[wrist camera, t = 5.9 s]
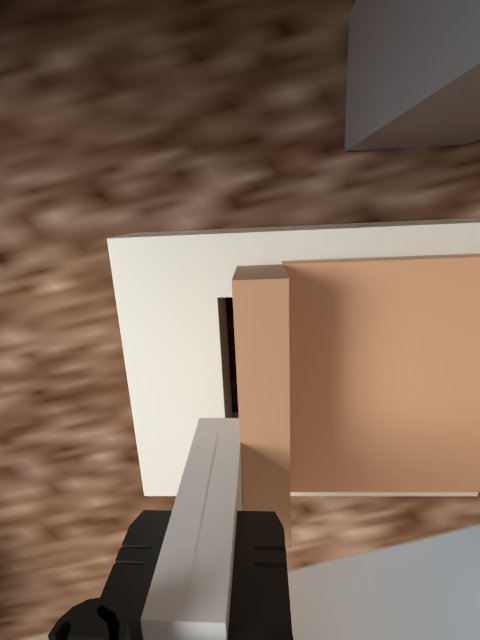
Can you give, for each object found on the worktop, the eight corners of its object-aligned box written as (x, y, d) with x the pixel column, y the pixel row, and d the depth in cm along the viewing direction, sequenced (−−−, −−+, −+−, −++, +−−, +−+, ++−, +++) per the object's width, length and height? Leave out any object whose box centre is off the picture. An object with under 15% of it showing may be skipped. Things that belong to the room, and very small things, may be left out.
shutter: (238, 262, 13) (231, 280, 10) (555, 250, 12) (657, 265, 9) (248, 478, 16) (245, 547, 12) (510, 477, 15) (577, 550, 12)
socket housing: (134, 232, 16) (106, 238, 13) (473, 218, 15) (523, 220, 12) (161, 452, 19) (144, 495, 16) (443, 450, 18) (477, 496, 15)
